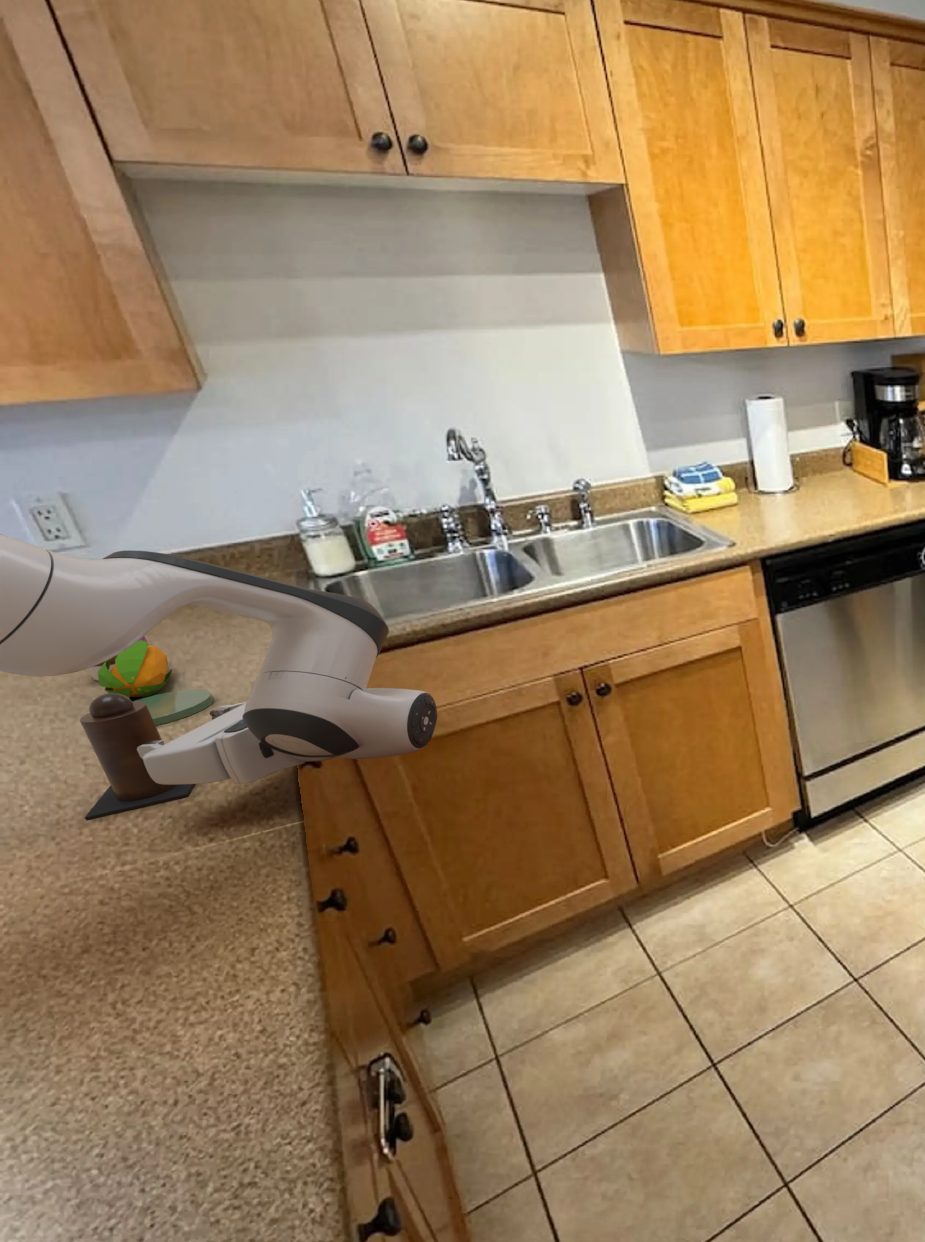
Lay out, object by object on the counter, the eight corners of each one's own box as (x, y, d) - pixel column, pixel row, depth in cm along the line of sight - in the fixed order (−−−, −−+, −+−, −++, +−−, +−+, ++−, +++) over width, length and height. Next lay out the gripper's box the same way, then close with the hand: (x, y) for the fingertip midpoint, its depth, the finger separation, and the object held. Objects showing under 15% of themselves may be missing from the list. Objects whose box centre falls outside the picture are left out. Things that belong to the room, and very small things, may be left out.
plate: (90, 738, 120) (87, 731, 119) (119, 708, 129) (115, 701, 129) (202, 716, 126) (199, 709, 125) (222, 689, 135) (219, 682, 135)
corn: (83, 667, 125) (108, 632, 139) (99, 713, 127) (122, 675, 142) (154, 657, 129) (170, 625, 144) (168, 702, 132) (183, 666, 146)
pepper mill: (110, 806, 101) (63, 708, 97) (125, 786, 106) (81, 692, 101) (173, 792, 104) (129, 696, 100) (185, 773, 109) (144, 681, 104)
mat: (85, 820, 99) (84, 817, 99) (111, 787, 107) (110, 784, 106) (187, 796, 104) (186, 793, 104) (206, 766, 111) (205, 764, 111)
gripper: (350, 669, 112) (244, 674, 111) (214, 743, 93) (85, 748, 92) (365, 711, 114) (261, 716, 113) (234, 791, 95) (109, 797, 94)
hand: (181, 731), depth 103 cm, fingers open, 8 cm apart
